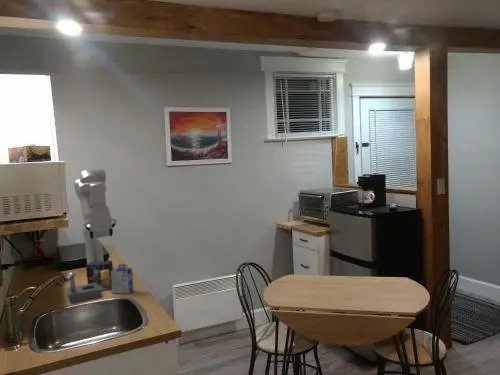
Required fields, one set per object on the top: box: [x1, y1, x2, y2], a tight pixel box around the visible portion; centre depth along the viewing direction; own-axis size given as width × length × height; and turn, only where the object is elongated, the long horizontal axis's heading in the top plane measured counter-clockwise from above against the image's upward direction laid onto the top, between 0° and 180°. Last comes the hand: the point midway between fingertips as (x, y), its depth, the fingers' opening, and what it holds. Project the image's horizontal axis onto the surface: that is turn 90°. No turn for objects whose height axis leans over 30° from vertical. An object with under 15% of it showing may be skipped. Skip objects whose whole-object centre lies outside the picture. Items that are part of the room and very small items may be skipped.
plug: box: [100, 270, 110, 288], centre depth 244 cm, size 5×5×9 cm
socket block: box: [66, 276, 102, 304], centre depth 232 cm, size 14×15×11 cm
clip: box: [64, 271, 77, 284], centre depth 223 cm, size 15×4×2 cm, turn 10°
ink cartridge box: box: [111, 263, 134, 294], centre depth 235 cm, size 10×6×14 cm, turn 78°
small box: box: [85, 260, 114, 286], centre depth 253 cm, size 13×7×12 cm, turn 90°
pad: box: [98, 283, 112, 292], centre depth 244 cm, size 9×9×1 cm
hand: (101, 237), depth 241 cm, fingers open, 9 cm apart
